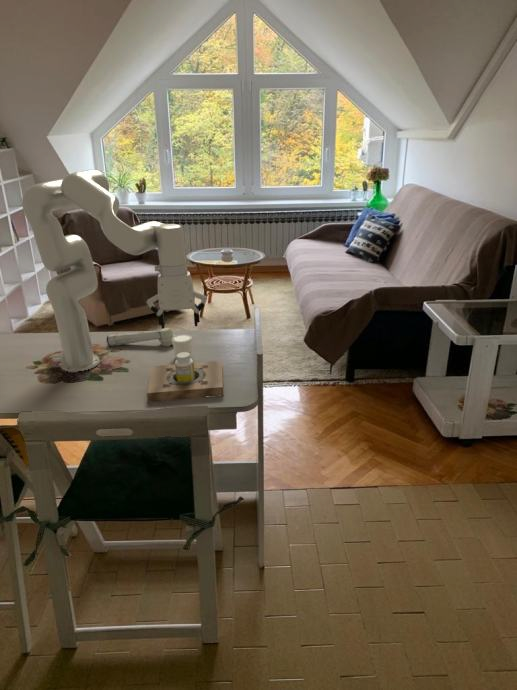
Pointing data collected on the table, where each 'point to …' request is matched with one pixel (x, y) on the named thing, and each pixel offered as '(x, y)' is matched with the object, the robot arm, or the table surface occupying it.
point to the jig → (168, 388)
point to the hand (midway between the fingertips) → (179, 325)
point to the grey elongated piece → (142, 337)
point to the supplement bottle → (184, 368)
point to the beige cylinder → (182, 344)
